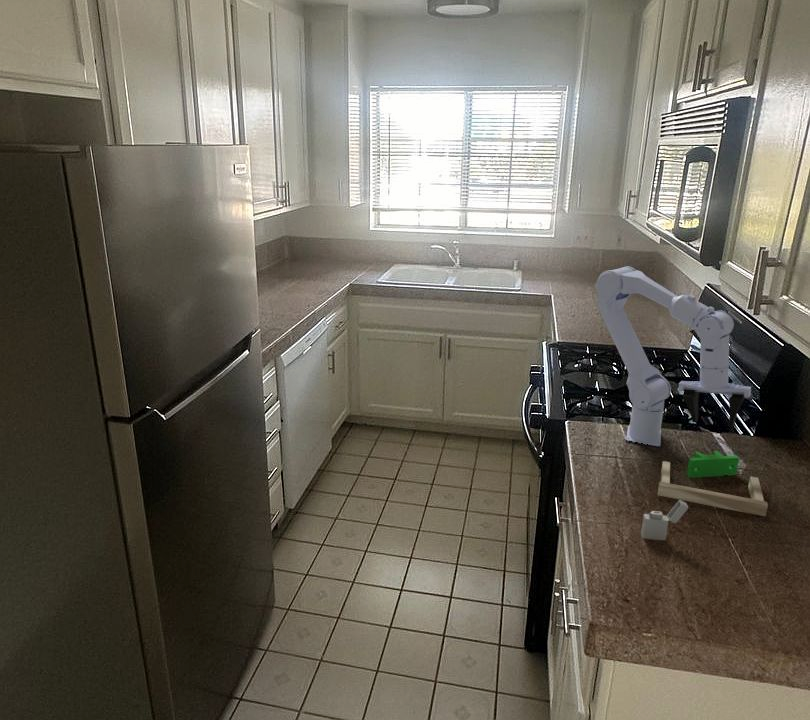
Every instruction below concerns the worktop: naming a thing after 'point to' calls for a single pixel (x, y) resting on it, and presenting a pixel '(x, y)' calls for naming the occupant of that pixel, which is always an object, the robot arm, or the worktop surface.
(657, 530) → the lighter
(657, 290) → the robot arm
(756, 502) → the frame
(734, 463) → the pipe clamp
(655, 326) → the worktop surface
